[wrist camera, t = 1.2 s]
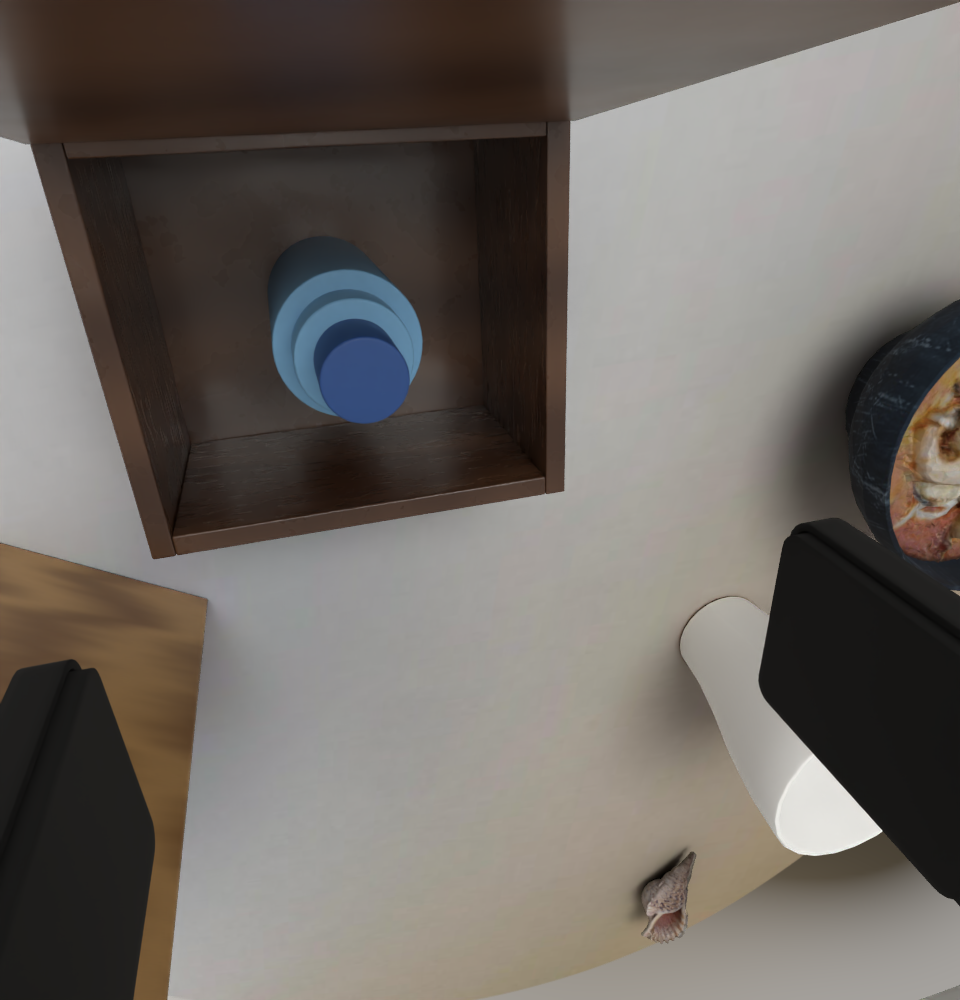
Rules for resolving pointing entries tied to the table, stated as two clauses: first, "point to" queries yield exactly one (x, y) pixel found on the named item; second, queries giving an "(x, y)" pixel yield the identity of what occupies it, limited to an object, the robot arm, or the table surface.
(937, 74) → the table surface
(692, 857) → the seashell
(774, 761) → the cup
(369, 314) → the bottle
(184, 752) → the stand
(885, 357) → the bowl
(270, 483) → the brown wooden box
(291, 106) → the wooden box lid
